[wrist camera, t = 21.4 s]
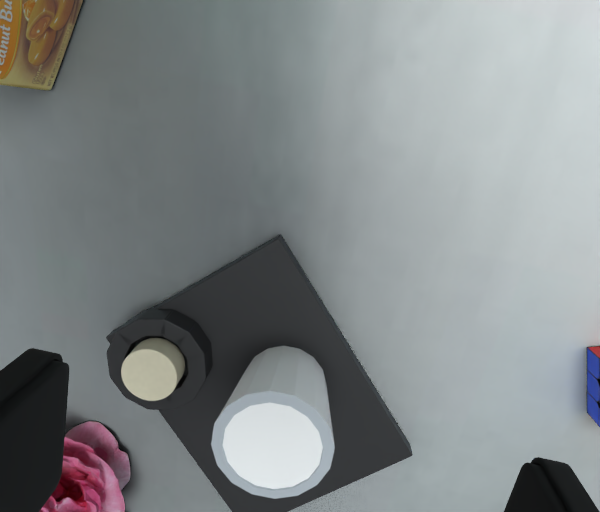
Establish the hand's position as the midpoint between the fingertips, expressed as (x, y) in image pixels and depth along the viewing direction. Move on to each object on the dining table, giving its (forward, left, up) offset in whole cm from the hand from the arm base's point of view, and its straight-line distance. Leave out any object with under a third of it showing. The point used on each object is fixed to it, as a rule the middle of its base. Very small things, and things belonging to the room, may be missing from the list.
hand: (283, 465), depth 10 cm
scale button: (+2, -13, -21) cm, 25 cm away
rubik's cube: (+19, +12, -23) cm, 33 cm away
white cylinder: (+8, -7, -22) cm, 25 cm away
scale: (+8, -10, -23) cm, 26 cm away
